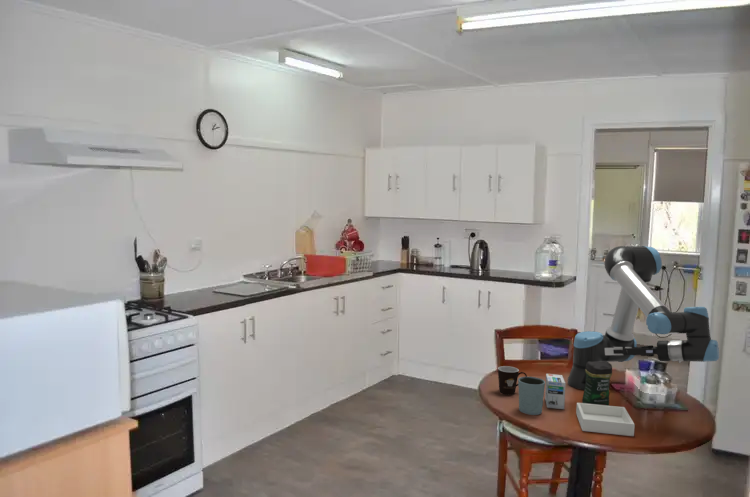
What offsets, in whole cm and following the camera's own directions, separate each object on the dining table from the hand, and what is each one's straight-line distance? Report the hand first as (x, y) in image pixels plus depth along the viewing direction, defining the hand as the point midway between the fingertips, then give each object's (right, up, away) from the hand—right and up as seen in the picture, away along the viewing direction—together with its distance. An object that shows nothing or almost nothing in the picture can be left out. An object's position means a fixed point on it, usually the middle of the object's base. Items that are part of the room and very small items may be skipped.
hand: (609, 351), depth 225 cm
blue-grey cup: (-32, -23, -2) cm, 39 cm away
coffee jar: (-4, -23, +3) cm, 23 cm away
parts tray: (-8, -24, -14) cm, 29 cm away
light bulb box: (-20, -22, +6) cm, 30 cm away
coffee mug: (-34, -21, +17) cm, 44 cm away
